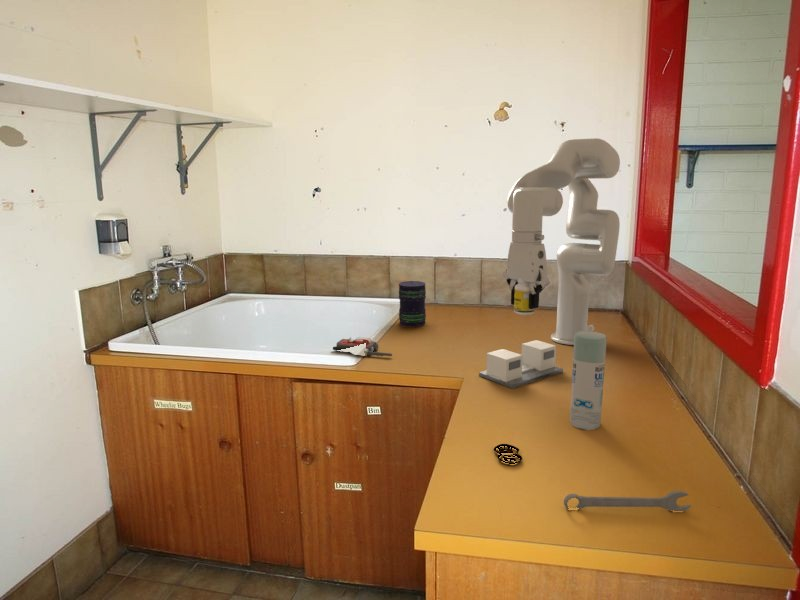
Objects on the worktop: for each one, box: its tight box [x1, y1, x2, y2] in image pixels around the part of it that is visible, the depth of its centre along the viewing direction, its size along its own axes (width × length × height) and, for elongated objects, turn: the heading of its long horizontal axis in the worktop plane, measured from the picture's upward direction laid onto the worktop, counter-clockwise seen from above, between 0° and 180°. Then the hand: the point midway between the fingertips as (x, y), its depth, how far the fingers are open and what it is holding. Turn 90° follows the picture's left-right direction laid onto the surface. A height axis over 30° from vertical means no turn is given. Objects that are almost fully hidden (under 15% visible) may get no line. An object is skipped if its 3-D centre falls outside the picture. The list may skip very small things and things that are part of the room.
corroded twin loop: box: [493, 443, 523, 464], centre depth 110 cm, size 5×8×1 cm, turn 1°
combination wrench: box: [563, 490, 692, 512], centre depth 91 cm, size 4×1×20 cm
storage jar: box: [398, 280, 427, 327], centre depth 207 cm, size 10×10×15 cm
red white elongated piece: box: [332, 336, 393, 357], centre depth 175 cm, size 9×4×20 cm
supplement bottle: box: [513, 278, 536, 316], centre depth 150 cm, size 5×5×10 cm
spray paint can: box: [569, 331, 608, 431], centre depth 121 cm, size 6×6×20 cm
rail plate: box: [478, 364, 564, 389], centre depth 154 cm, size 20×12×2 cm, turn 126°
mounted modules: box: [485, 339, 557, 382], centre depth 154 cm, size 20×7×6 cm, turn 126°
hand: (524, 305), depth 150 cm, fingers closed on supplement bottle, 5 cm apart
